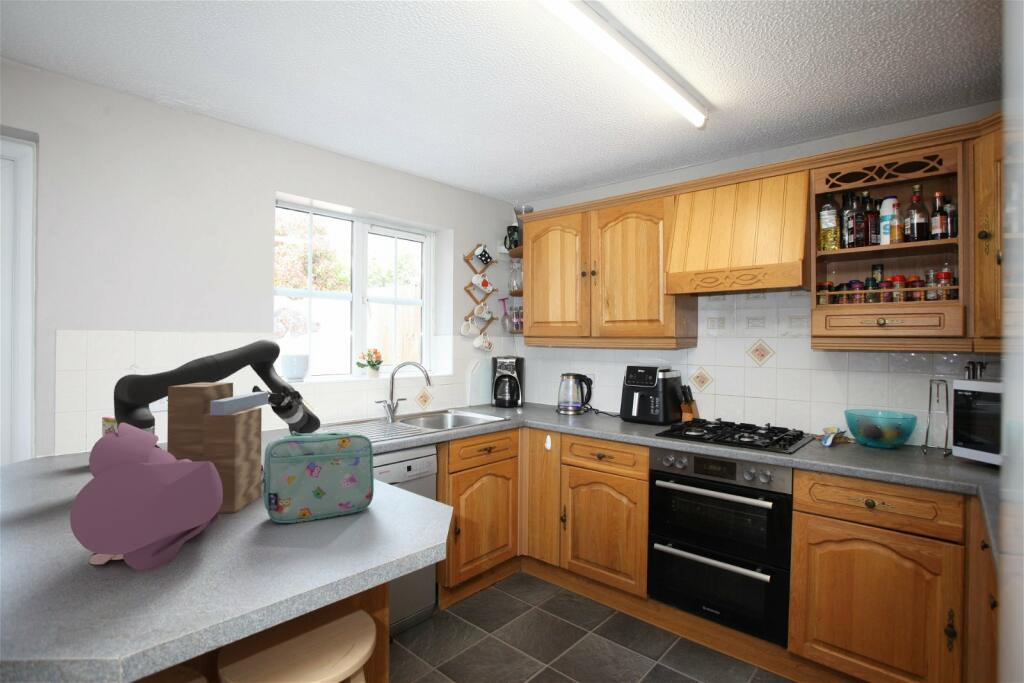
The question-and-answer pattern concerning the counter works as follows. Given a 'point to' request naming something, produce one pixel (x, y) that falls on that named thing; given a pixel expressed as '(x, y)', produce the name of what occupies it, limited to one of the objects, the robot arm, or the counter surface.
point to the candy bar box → (109, 425)
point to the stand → (217, 439)
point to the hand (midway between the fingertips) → (268, 388)
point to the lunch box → (317, 476)
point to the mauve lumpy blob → (142, 500)
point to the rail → (238, 403)
